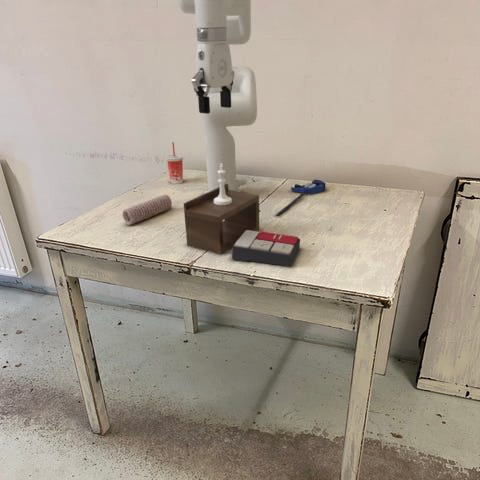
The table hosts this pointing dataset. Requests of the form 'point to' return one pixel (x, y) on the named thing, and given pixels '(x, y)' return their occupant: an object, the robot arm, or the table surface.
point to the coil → (147, 209)
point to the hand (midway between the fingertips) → (215, 110)
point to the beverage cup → (175, 167)
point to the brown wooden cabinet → (220, 219)
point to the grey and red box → (266, 248)
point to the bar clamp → (306, 191)
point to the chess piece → (222, 189)
